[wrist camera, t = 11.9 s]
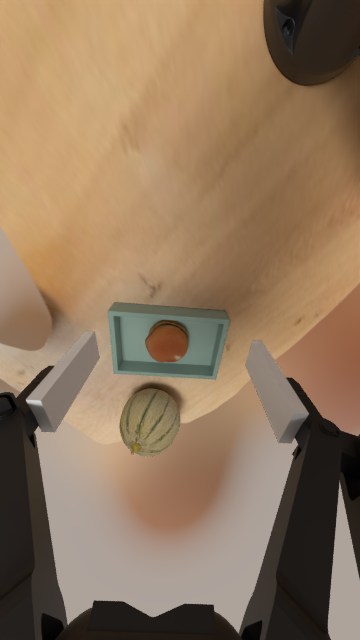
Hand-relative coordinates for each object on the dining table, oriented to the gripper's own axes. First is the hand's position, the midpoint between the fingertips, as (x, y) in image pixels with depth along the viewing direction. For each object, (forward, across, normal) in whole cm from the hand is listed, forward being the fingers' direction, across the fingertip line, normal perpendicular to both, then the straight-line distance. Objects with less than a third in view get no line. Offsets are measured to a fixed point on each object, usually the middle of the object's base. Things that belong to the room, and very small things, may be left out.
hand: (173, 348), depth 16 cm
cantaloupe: (+24, -5, -35) cm, 43 cm away
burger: (+24, -2, -15) cm, 28 cm away
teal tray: (+24, -2, -15) cm, 28 cm away
